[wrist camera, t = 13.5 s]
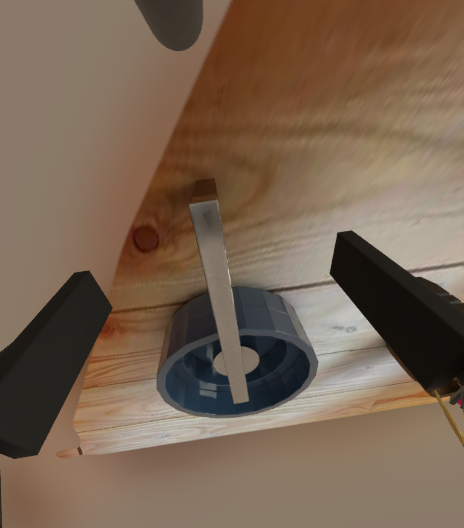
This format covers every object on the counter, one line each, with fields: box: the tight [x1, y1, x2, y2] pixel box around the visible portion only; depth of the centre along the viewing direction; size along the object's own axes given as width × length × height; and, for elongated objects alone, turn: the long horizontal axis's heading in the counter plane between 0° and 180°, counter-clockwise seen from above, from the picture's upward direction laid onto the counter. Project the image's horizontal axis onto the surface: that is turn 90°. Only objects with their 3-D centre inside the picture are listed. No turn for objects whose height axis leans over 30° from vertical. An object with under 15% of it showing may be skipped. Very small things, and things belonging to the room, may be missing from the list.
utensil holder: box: [386, 343, 464, 446], centre depth 25 cm, size 6×6×12 cm
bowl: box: [157, 287, 318, 418], centre depth 23 cm, size 16×16×6 cm
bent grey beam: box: [189, 178, 260, 404], centre depth 18 cm, size 20×5×7 cm, turn 7°
